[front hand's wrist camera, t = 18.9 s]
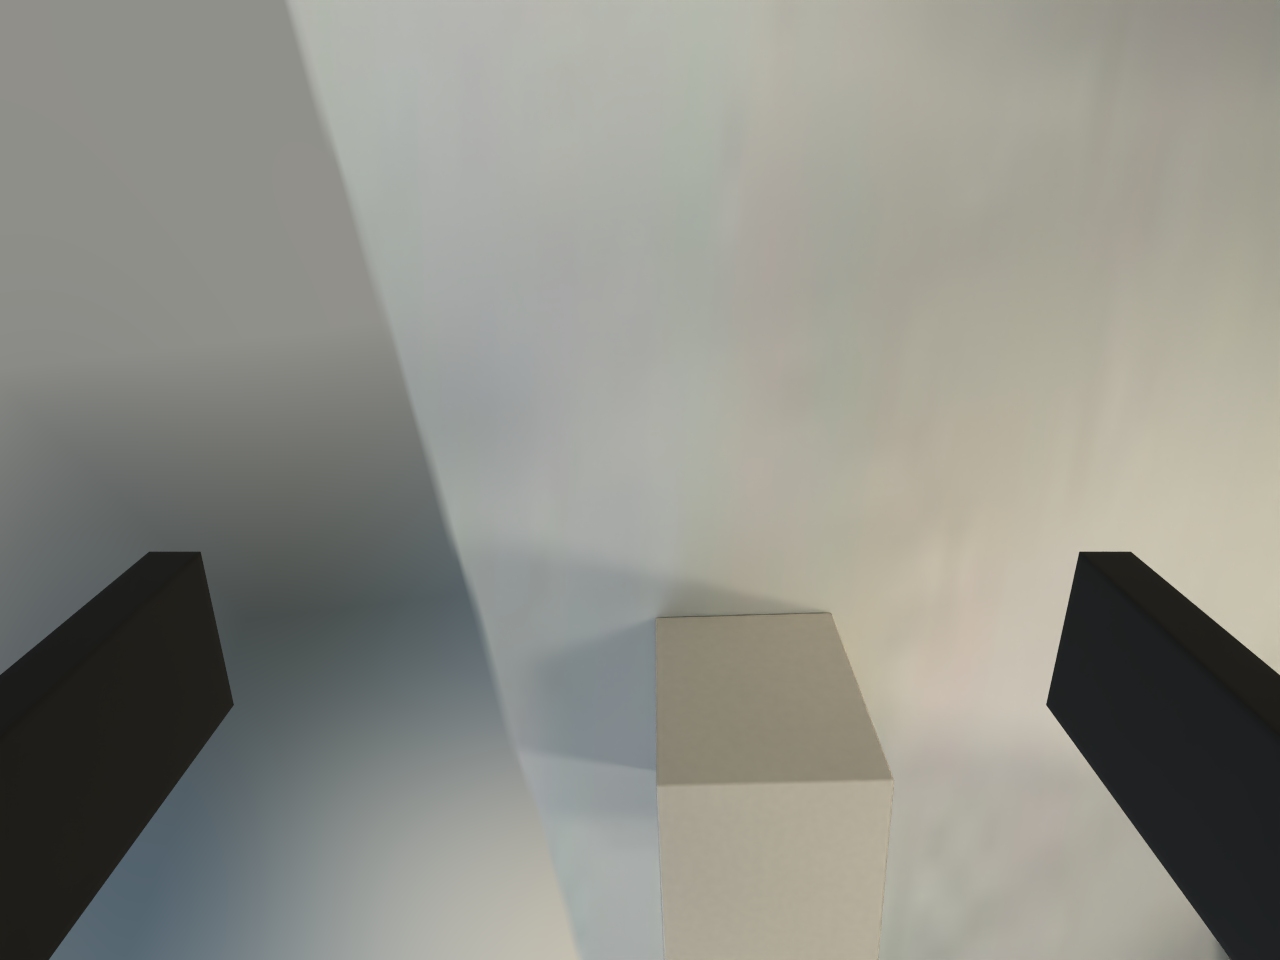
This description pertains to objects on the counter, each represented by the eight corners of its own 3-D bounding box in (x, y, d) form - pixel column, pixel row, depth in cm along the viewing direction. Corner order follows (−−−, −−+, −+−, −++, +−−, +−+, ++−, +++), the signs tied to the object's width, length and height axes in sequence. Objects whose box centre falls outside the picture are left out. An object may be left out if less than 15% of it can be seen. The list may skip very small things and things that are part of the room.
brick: (655, 617, 38) (656, 785, 28) (831, 612, 38) (894, 780, 28) (661, 773, 41) (664, 973, 31) (823, 769, 41) (877, 969, 31)
